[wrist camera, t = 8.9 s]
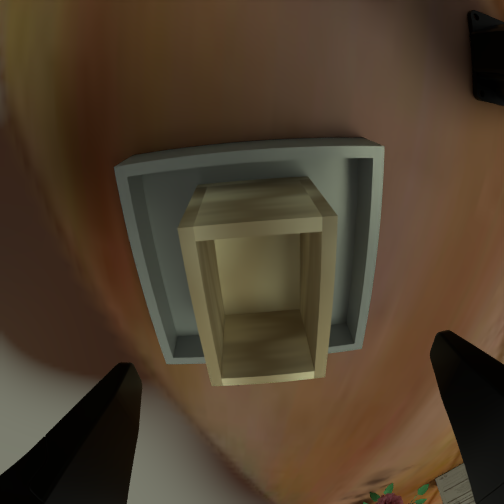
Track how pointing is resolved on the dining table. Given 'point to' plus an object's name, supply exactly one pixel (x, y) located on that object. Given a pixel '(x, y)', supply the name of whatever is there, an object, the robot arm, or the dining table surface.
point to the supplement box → (455, 486)
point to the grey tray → (239, 169)
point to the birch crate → (261, 278)
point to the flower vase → (395, 496)
